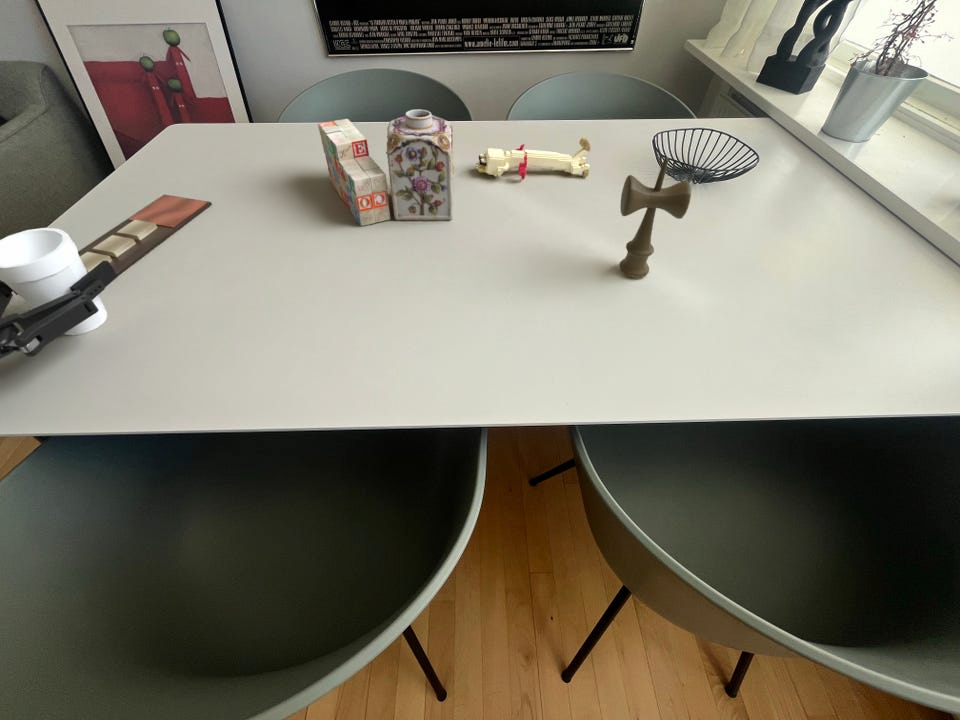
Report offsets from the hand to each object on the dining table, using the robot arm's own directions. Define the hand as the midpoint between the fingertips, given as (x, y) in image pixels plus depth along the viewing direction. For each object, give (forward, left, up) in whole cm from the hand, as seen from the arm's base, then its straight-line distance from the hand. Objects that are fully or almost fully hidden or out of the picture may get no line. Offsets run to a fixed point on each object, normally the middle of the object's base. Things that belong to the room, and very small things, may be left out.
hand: (79, 264), depth 70 cm
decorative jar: (+38, +43, -7) cm, 58 cm away
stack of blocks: (+24, +42, -7) cm, 49 cm away
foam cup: (0, -5, -7) cm, 9 cm away
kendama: (+80, +32, -7) cm, 87 cm away
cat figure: (+56, +64, -7) cm, 85 cm away
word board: (-9, +18, -7) cm, 21 cm away
